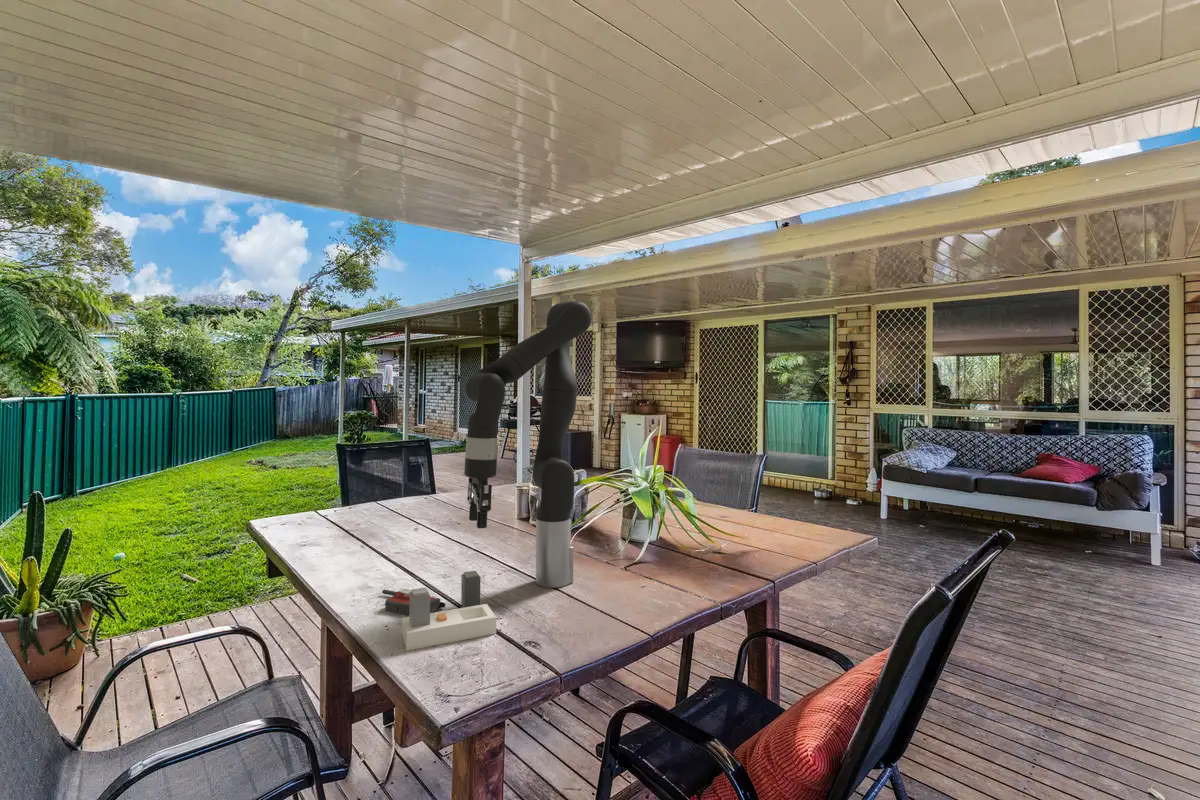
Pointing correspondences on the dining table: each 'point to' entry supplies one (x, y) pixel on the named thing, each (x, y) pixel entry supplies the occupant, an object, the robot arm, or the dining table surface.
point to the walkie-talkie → (406, 602)
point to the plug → (470, 589)
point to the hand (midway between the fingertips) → (477, 524)
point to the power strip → (443, 622)
